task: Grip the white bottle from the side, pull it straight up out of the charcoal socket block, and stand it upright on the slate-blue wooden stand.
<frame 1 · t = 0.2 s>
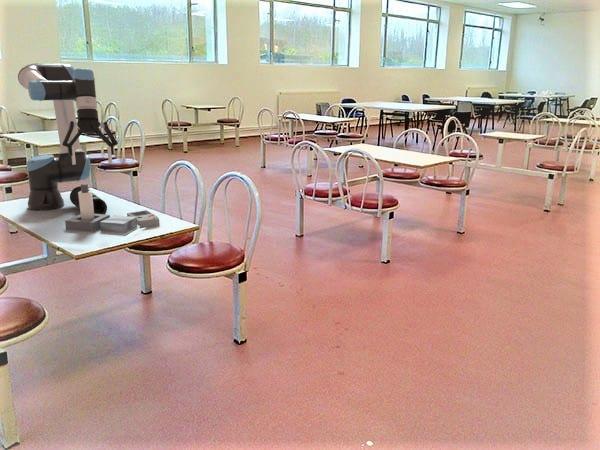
hand: (92, 164, 203), 26 cm above the table, tool tilted 15°, fingers open, 13 cm apart
white bottle: (88, 226, 208), point 1 cm above the table, touching socket block
stand: (119, 231, 207), on the table
muzzle brake: (88, 214, 231), on the table
socket block: (89, 229, 209), on the table
handheld gaming device: (143, 223, 220), on the table
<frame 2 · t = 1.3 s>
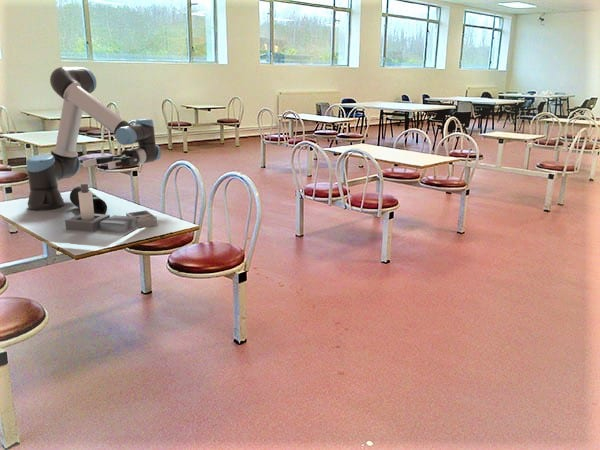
hand: (95, 165, 209), 25 cm above the table, tool horizontal, fingers open, 13 cm apart
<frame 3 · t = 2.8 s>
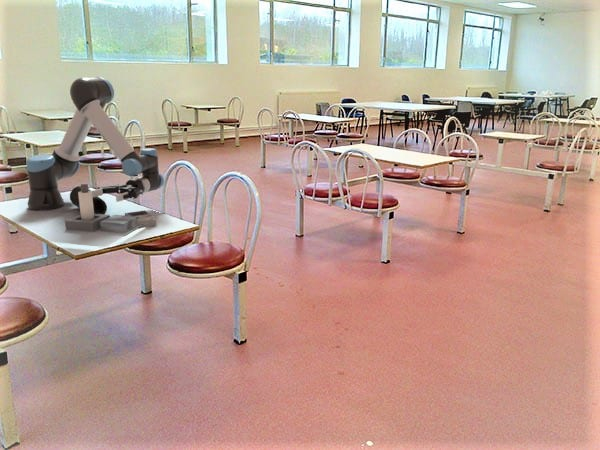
hand: (103, 196, 214), 12 cm above the table, tool horizontal, fingers open, 13 cm apart
muzzle brake: (88, 214, 231), on the table, touching gripper
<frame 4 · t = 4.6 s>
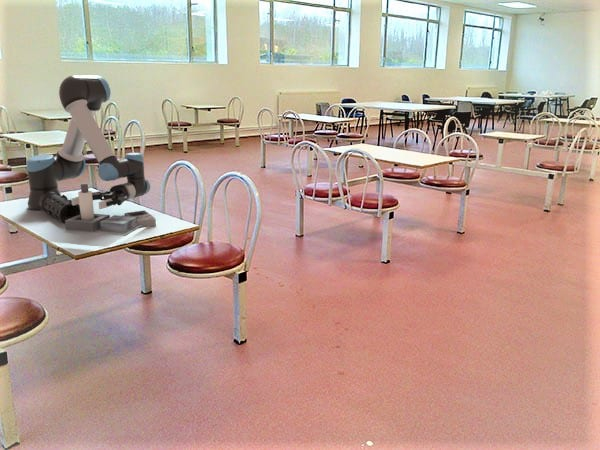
hand: (85, 203, 205), 11 cm above the table, tool horizontal, fingers open, 13 cm apart
muzzle brake: (70, 198, 225), point 8 cm above the table
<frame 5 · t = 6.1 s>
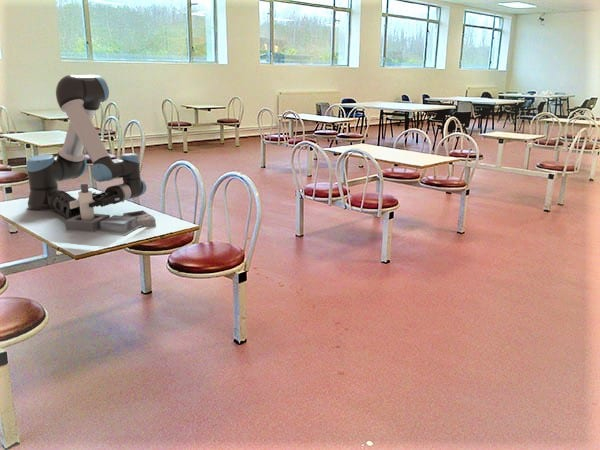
hand: (76, 206, 201), 11 cm above the table, tool horizontal, fingers closed on white bottle, 5 cm apart
white bottle: (88, 226, 208), point 1 cm above the table, touching gripper, socket block
muzzle brake: (81, 206, 229), point 4 cm above the table
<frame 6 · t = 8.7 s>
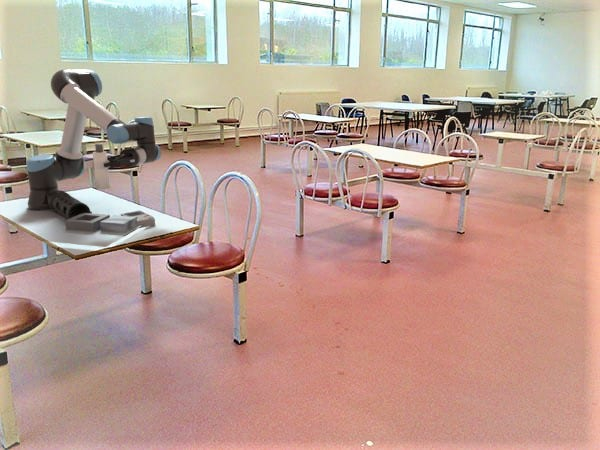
hand: (90, 165, 195), 27 cm above the table, tool horizontal, fingers closed on white bottle, 5 cm apart
white bottle: (103, 187, 202), point 18 cm above the table, touching gripper
when the fingers open (16 cm above the table, at t = 11.2 s): white bottle drops 1 cm, resting on stand.
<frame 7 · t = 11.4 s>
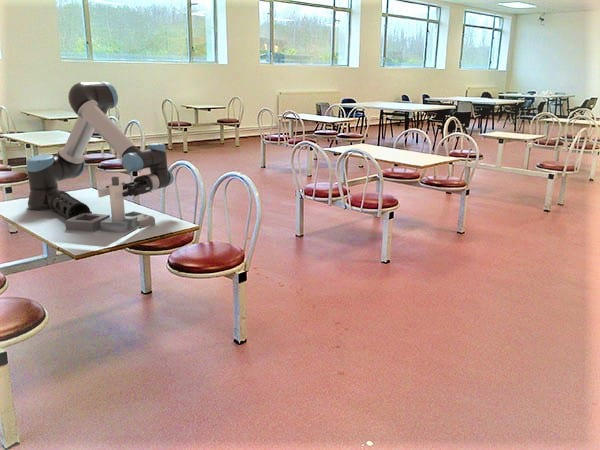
hand: (107, 195, 198), 16 cm above the table, tool horizontal, fingers open, 7 cm apart
white bottle: (118, 219, 206), point 5 cm above the table, touching stand
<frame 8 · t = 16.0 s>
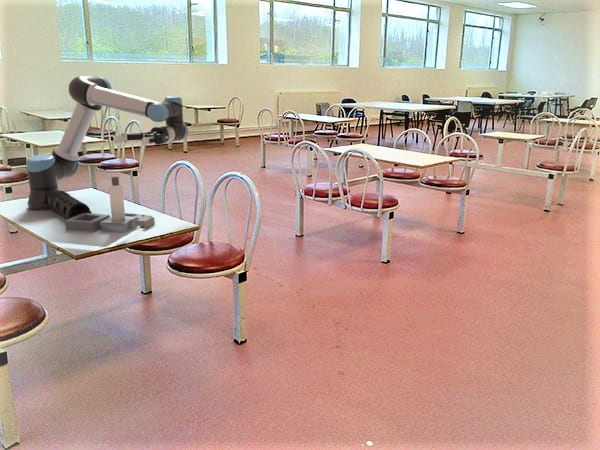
hand: (129, 140, 206), 35 cm above the table, tool horizontal, fingers open, 13 cm apart
handheld gaming device: (135, 225, 217), on the table
everything else where it was.
at the end: white bottle inside the target area on the stand (0.0 cm from its centre), point 5.0 cm above the stand's base; white bottle tilted 0°; the gripper is holding nothing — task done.
